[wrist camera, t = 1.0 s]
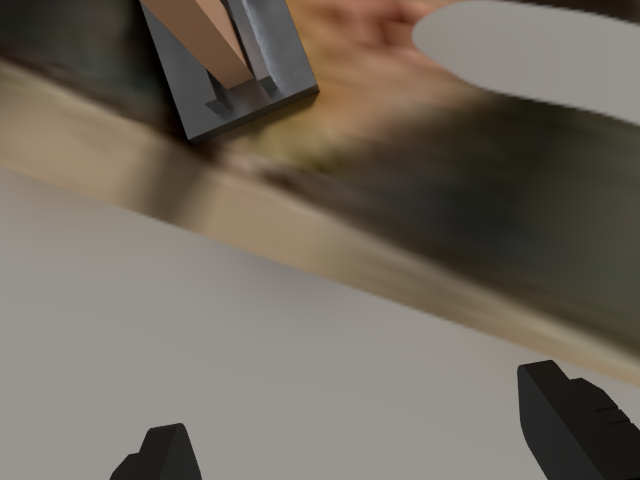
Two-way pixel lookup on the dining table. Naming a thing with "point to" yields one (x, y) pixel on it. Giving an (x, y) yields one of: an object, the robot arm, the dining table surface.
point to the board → (206, 36)
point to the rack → (250, 96)
